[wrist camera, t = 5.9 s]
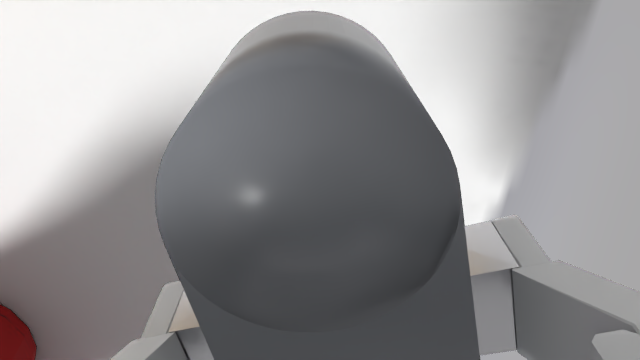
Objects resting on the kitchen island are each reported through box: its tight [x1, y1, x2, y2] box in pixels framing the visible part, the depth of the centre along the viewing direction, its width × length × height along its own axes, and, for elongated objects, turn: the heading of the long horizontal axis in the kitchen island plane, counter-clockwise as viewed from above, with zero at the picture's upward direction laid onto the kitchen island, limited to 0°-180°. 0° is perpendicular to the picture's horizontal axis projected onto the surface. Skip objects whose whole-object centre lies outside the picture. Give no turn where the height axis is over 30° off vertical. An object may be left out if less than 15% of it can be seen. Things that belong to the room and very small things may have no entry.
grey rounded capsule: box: [155, 11, 480, 360], centre depth 10 cm, size 4×12×4 cm, turn 13°
